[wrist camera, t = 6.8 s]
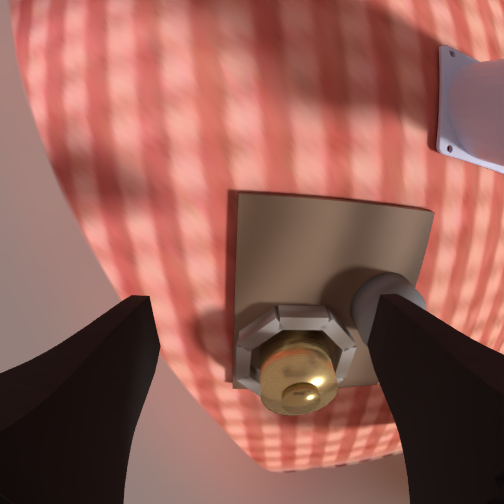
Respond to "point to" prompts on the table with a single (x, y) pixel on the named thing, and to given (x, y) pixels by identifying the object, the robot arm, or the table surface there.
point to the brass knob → (296, 372)
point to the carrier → (321, 275)
